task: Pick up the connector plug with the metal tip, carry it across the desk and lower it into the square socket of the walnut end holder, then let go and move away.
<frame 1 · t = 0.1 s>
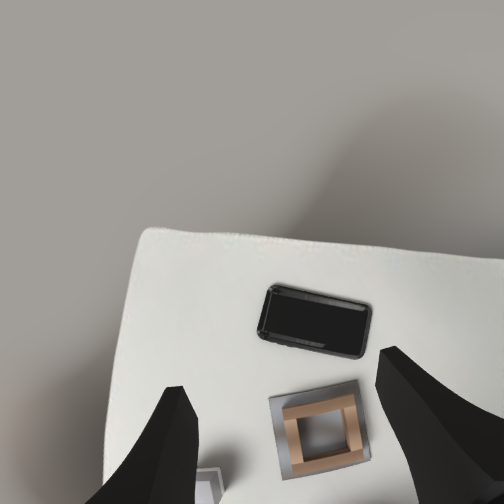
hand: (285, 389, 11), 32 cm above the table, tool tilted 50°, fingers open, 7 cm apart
connector plug: (208, 480, 35), on the table
phone: (314, 324, 43), on the table
end holder: (320, 431, 37), on the table
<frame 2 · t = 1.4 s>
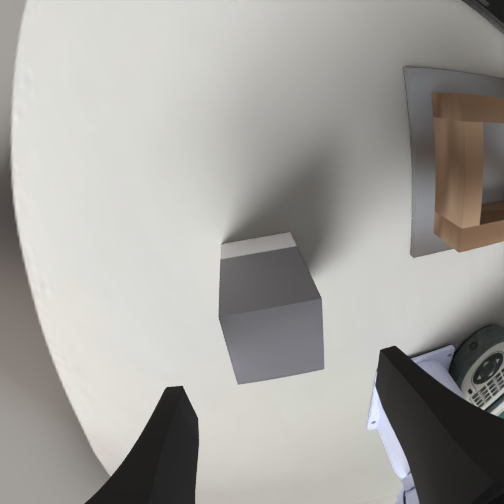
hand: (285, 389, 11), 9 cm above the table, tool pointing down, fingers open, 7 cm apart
connector plug: (260, 268, 19), on the table
end holder: (479, 160, 17), on the table
communication device: (490, 372, 28), on the table
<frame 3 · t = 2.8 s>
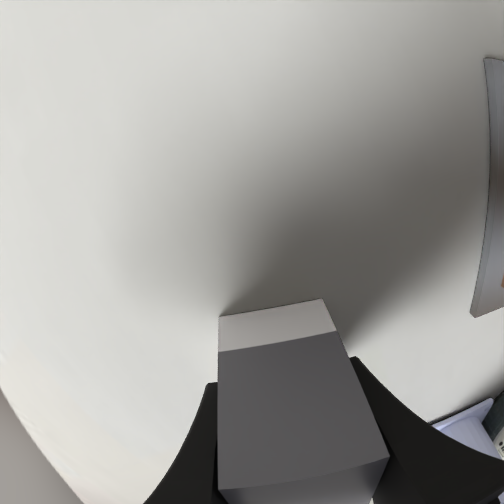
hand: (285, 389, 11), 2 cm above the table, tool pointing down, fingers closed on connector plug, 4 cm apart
connector plug: (276, 346, 13), on the table, touching gripper
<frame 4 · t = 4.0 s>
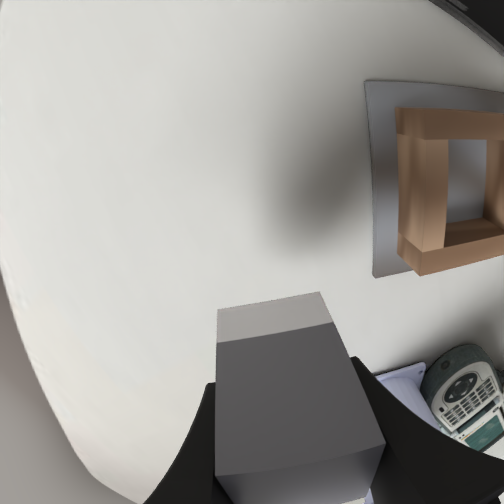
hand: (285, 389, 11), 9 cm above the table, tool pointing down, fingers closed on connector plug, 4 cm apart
connector plug: (274, 339, 13), point 7 cm above the table, touching gripper
end holder: (451, 176, 18), on the table
communication device: (468, 389, 29), on the table
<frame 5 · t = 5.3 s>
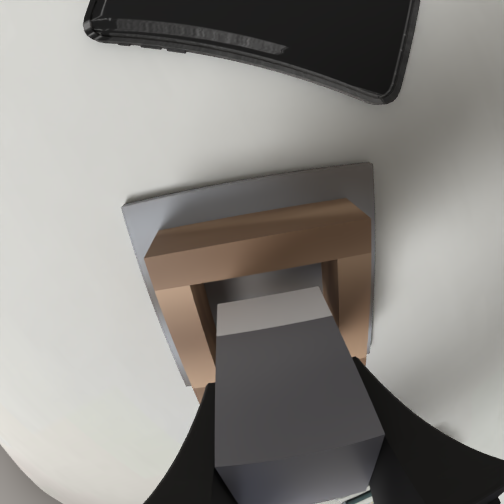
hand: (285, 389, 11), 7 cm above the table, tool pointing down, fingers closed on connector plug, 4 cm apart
connector plug: (274, 334, 13), point 4 cm above the table, touching gripper
end holder: (265, 290, 17), on the table
communication device: (371, 460, 29), on the table, touching arm
when the fingers open (4 cm above the table, at t = 6.1 s): connector plug stays where it is, resting on end holder.
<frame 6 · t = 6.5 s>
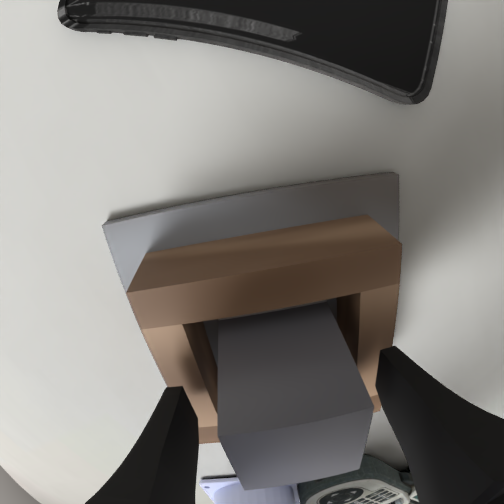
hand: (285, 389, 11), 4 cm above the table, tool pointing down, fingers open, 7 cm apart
connector plug: (272, 321, 14), resting on end holder
end holder: (271, 318, 15), on the table
communication device: (377, 478, 26), on the table
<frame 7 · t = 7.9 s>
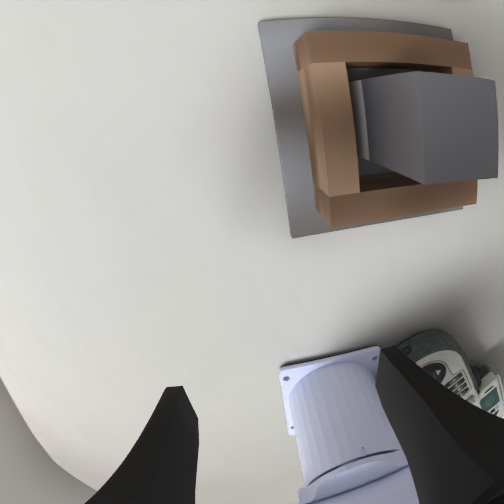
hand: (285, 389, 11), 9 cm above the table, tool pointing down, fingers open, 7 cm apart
connector plug: (383, 117, 15), resting on end holder
end holder: (379, 120, 16), on the table
communication device: (439, 387, 27), on the table
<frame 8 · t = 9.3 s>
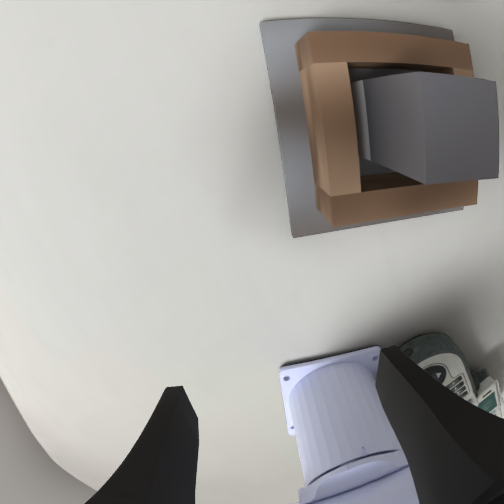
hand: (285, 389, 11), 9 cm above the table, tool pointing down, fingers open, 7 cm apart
connector plug: (385, 117, 15), resting on end holder
end holder: (381, 120, 16), on the table
communication device: (438, 390, 28), on the table
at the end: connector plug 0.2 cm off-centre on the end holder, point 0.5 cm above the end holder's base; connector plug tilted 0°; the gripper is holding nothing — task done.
